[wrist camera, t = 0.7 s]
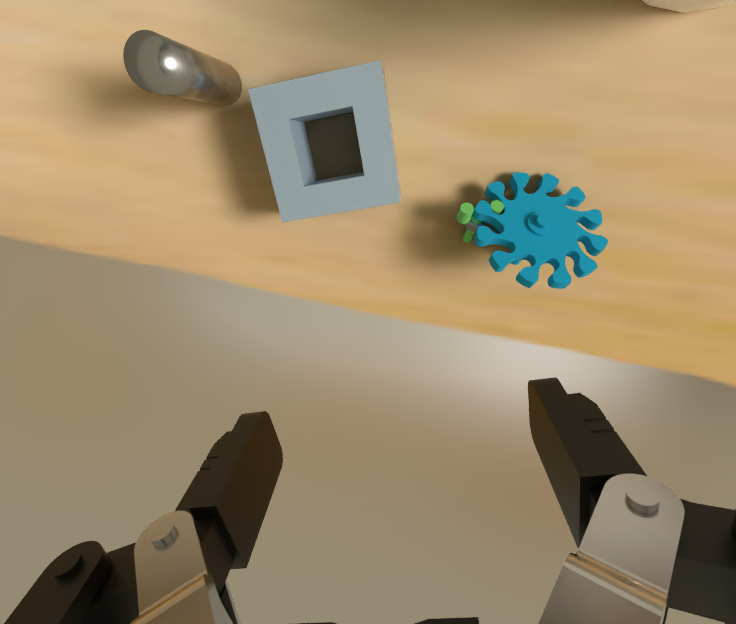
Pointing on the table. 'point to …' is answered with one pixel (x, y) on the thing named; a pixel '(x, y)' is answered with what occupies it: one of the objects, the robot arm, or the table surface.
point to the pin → (179, 70)
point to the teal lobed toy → (534, 229)
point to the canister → (688, 4)
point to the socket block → (292, 150)
